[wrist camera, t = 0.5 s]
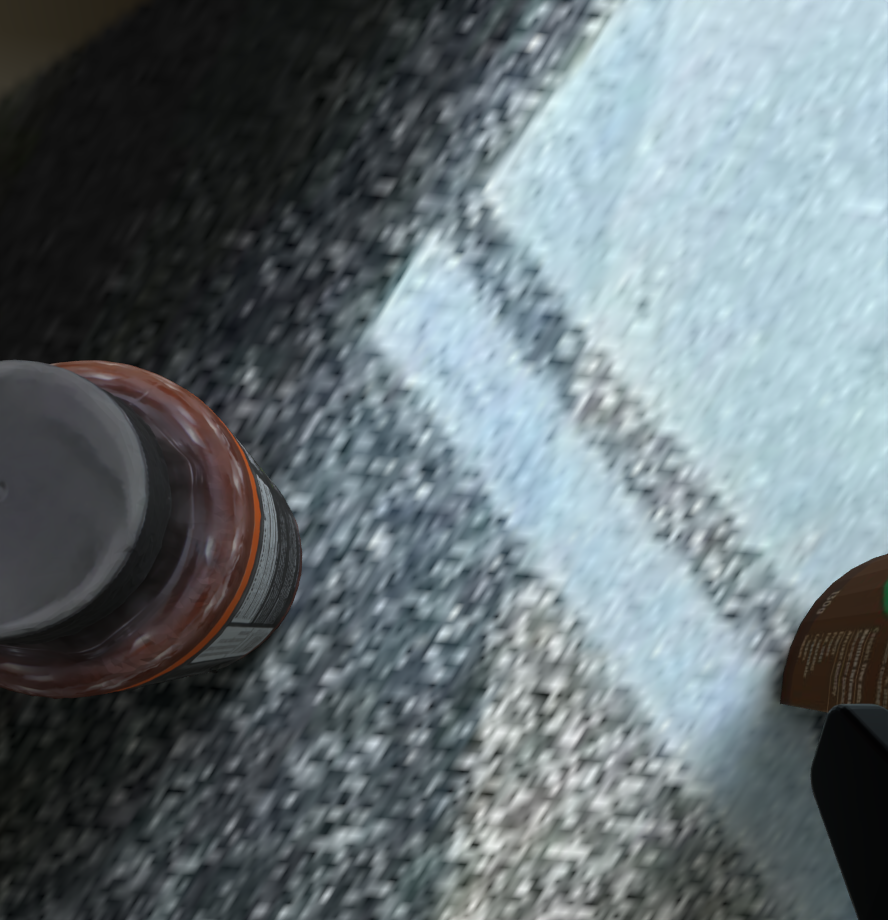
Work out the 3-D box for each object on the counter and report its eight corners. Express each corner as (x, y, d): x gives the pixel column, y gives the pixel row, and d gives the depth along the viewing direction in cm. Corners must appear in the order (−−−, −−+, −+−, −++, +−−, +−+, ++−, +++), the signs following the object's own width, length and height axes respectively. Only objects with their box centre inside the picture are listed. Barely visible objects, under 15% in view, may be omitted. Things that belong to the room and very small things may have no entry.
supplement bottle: (50, 630, 21) (-329, 625, 10) (143, 429, 23) (-106, 232, 12) (258, 707, 21) (100, 784, 10) (339, 500, 22) (277, 368, 11)
